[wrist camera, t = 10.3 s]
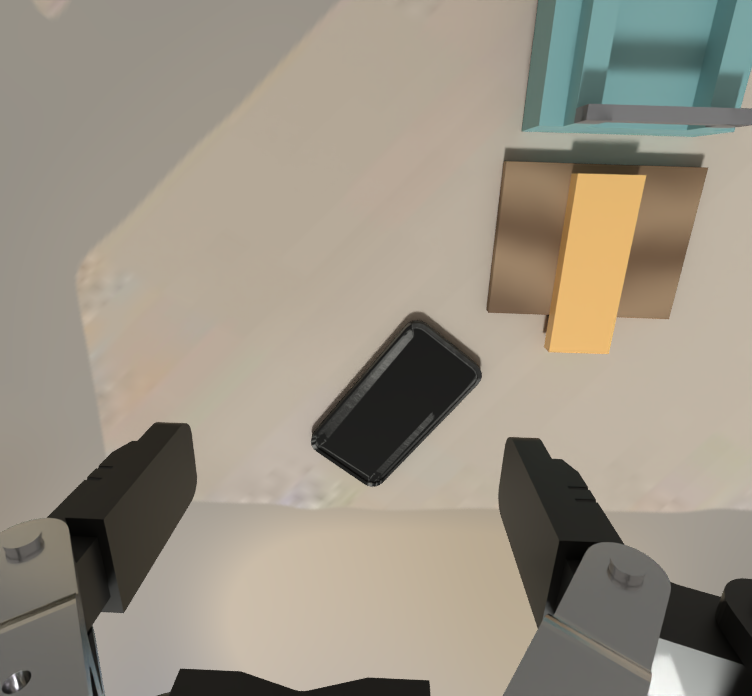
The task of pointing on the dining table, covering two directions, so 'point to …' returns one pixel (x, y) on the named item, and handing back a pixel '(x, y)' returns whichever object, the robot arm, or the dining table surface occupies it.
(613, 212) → the ticket card
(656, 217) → the walnut mat
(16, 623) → the robot arm
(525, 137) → the dining table surface
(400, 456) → the phone
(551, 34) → the ticket dispenser
